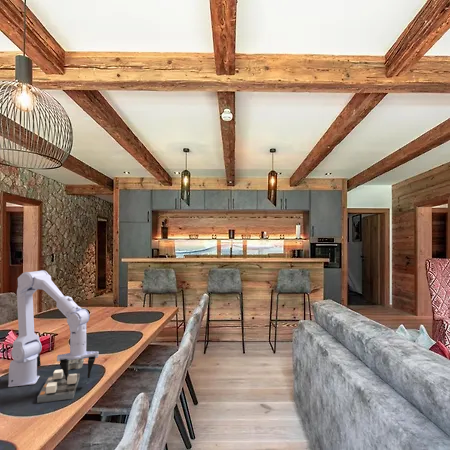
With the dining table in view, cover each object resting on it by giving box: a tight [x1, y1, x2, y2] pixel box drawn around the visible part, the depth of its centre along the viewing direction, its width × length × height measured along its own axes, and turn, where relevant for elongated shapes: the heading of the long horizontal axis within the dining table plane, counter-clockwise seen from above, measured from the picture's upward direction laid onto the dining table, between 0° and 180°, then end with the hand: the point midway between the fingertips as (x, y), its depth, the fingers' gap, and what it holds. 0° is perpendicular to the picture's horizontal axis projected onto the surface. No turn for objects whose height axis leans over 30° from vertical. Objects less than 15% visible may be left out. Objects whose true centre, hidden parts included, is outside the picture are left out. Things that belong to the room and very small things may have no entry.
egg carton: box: [68, 358, 85, 371], centre depth 159 cm, size 11×8×4 cm
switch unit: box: [36, 373, 81, 404], centre depth 133 cm, size 12×19×2 cm, turn 16°
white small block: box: [52, 368, 64, 379], centre depth 139 cm, size 3×4×2 cm
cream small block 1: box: [46, 382, 57, 394], centre depth 126 cm, size 3×4×2 cm
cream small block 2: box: [67, 373, 78, 384], centre depth 134 cm, size 3×4×2 cm
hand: (78, 378), depth 135 cm, fingers open, 7 cm apart
